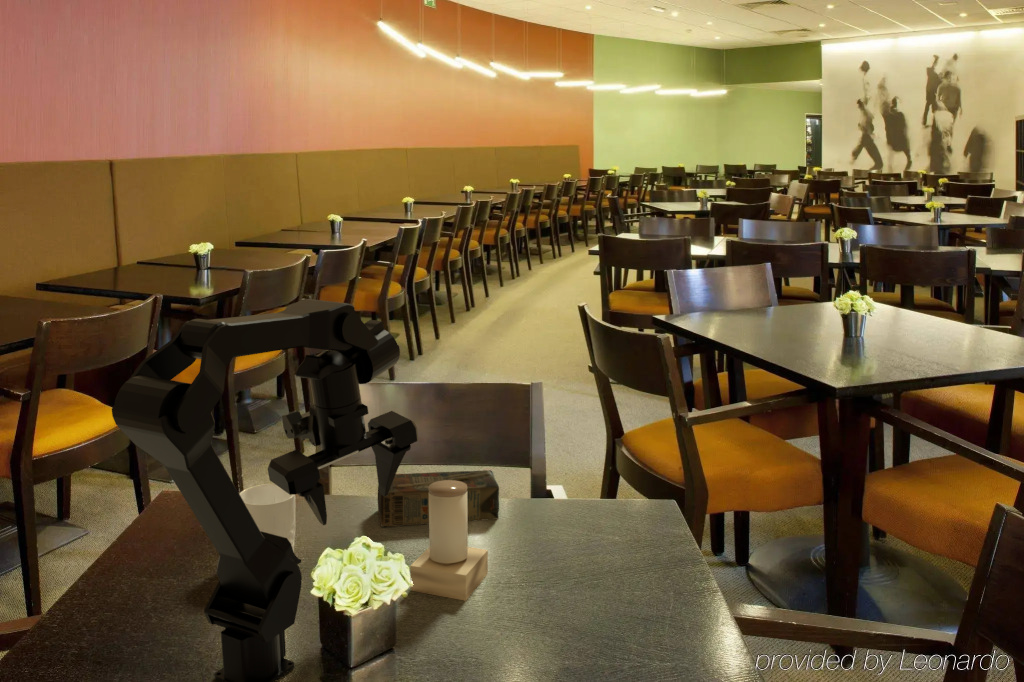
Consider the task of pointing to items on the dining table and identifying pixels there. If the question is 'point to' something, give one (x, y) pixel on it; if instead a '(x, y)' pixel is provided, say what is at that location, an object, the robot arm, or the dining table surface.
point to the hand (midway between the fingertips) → (354, 509)
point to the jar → (448, 521)
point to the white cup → (271, 510)
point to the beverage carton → (412, 497)
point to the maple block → (450, 575)
